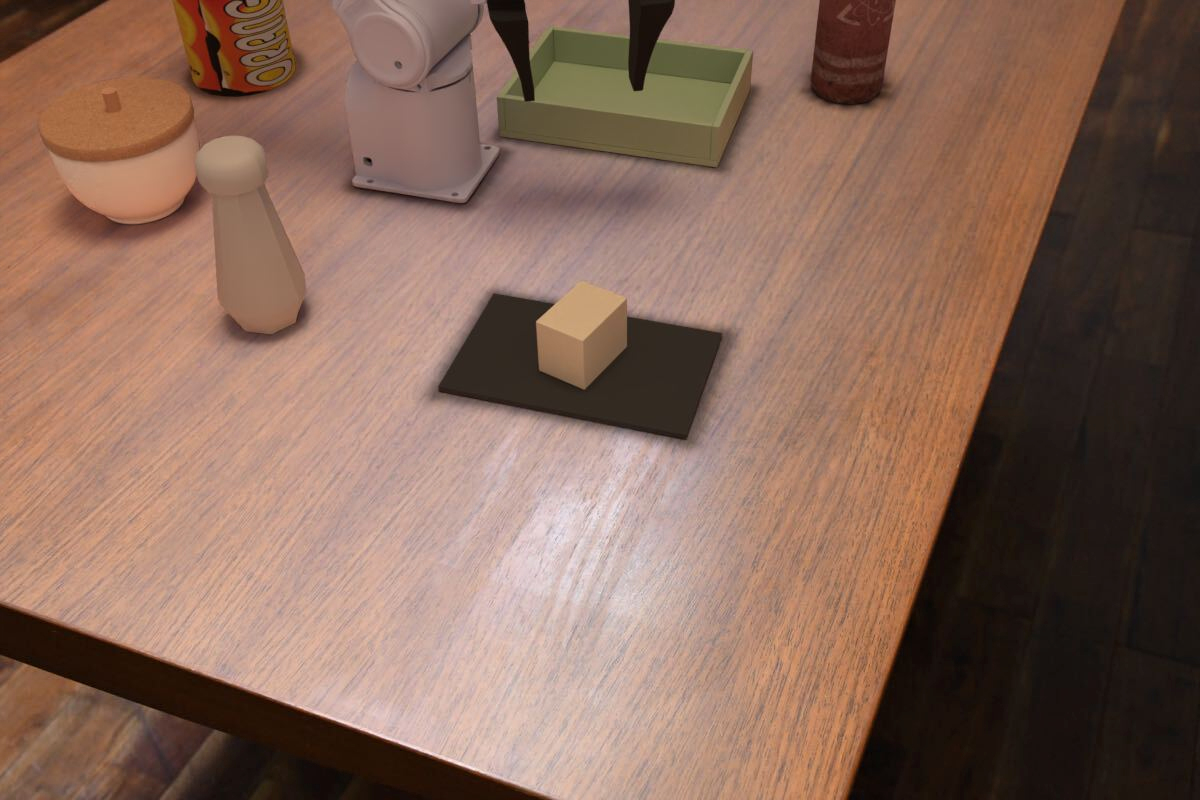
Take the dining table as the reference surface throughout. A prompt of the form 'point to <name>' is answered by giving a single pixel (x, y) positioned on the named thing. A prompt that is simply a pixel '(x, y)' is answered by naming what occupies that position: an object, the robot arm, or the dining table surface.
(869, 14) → the can
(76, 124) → the trinket box
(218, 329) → the dining table surface
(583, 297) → the tan wooden block
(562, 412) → the mat
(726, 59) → the bin
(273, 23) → the beverage can
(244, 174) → the salt shaker
